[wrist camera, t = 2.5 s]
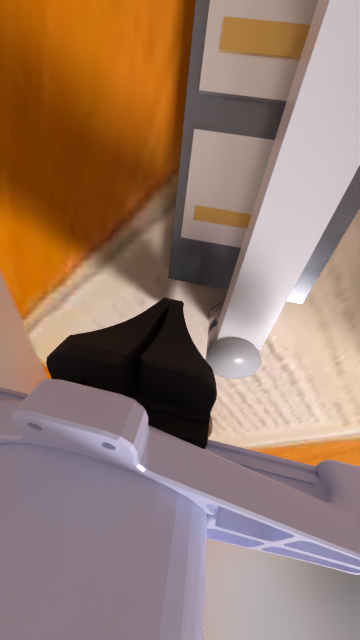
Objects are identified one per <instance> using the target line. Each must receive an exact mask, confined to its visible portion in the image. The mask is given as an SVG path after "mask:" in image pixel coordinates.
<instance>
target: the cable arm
mask: <svg viewBox="0 0 360 640" xmlns="http://www.w3.org/2000/svg"><path fill="white" fill-rule="evenodd" d="M359 165H360V0H318V3H317V6H316V9H315V12H314V16H313V19H312V22H311V25H310V29H309V32H308V35H307V38H306V41H305V45H304V48H303V51H302V54H301V57H300V61H299V64H298V67H297V70H296V74H295V77H294V80H293V83H292V86H291V90H290V93H289V96H288V99H287V102H286V106H285V109H284V112H283V115H282V118H281V122H280V125H279V128H278V131H277V135H276V138H275V141H274V144H273V147H272V151H271V154H270V157H269V160H268V163H267V167H266V170H265V173H264V176H263V180H262V183H261V186H260V189H259V192H258V196H257V199H256V202H255V205H254V208H253V212H252V215H251V218H250V221H249V224H248V228H247V231H246V234H245V237H244V241H243V244H242V247H241V250H240V253H239V257H238V260H237V263H236V266H235V269H234V273H233V276H232V279H231V282H230V286H229V289H228V292H227V295H226V298H225V302H224V305H223V308H222V311H221V314H220V318H219V321H218V324H217V325H216V326H214V327H213V328H212V329H211V331H210V332H209V335H208V343H207V355H206V362H207V363H208V364H209V365H210V366H211V367H212V369H213V373H214V374H216V375H218V376H220V377H223V378H227V379H242V378H246V377H248V376H251V375H252V374H254V373H255V372H256V371H257V370H258V369H259V367H260V365H261V357H260V353H259V350H261V348H262V346H263V344H264V342H265V340H266V339H267V337H268V335H269V333H270V331H271V329H272V327H273V325H274V324H275V322H276V320H277V318H278V316H279V314H280V312H281V311H282V309H283V307H284V305H285V303H286V301H287V299H288V298H289V296H290V294H291V292H292V290H293V288H294V286H295V285H296V283H297V281H298V279H299V277H300V275H301V273H302V272H303V270H304V268H305V266H306V264H307V262H308V260H309V258H310V257H311V255H312V253H313V251H314V249H315V247H316V245H317V244H318V242H319V240H320V238H321V236H322V234H323V232H324V231H325V229H326V227H327V225H328V223H329V221H330V219H331V218H332V216H333V214H334V212H335V210H336V208H337V206H338V205H339V203H340V201H341V199H342V197H343V195H344V193H345V191H346V190H347V188H348V186H349V184H350V182H351V180H352V178H353V177H354V175H355V173H356V171H357V169H358V167H359Z"/></svg>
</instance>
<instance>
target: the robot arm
mask: <svg viewBox="0 0 360 640" xmlns="http://www.w3.org/2000/svg"><path fill="white" fill-rule="evenodd" d="M183 305H184V303H183V302H182V301H177V300H172V299H168V298H163V299H162V300H160V301H159V302H158V303H156V304H155V305H153V306H152V307H150V308H149V309H147V310H146V311H144V312H143V313H141V314H139V315H138V316H136V317H134V318H132V319H129V320H127V321H125V322H122V323H120V324H117V325H114V326H111V327H108V328H104V329H101V330H96V331H92V332H87V333H81V334H75V335H70V336H69V337H67V338H66V339H65V340H64V341H63V342H62V343H61V344H60V345H59V346H58V347H57V348H56V349H55V350H54V351H53V352H52V353H51V354H50V355H49V356H48V357H47V361H46V363H47V367H48V370H49V373H50V375H51V377H52V379H46V380H44V381H43V382H41V383H39V384H38V386H37V387H36V388H35V389H34V390H33V391H32V392H31V393H30V394H25V393H21V392H17V391H14V390H9V389H6V388H1V387H0V640H203V618H204V594H205V568H206V567H205V566H206V541H207V539H210V540H214V541H219V542H224V543H227V544H232V545H236V546H241V547H245V548H249V549H254V550H258V551H263V552H267V553H272V554H276V555H280V556H285V557H289V558H293V559H298V560H302V561H306V562H310V563H313V564H317V565H321V566H325V567H329V568H333V569H336V570H340V571H343V572H347V573H351V574H354V575H360V467H359V466H355V465H351V464H347V463H343V462H339V461H335V460H324V461H321V462H320V463H319V464H318V465H317V466H312V465H308V464H304V463H300V462H296V461H292V460H288V459H284V458H280V457H276V456H272V455H268V454H264V453H260V452H256V451H252V450H248V449H244V448H240V447H236V446H232V445H228V444H224V443H220V442H216V441H212V440H208V424H209V423H210V412H211V410H212V407H213V405H214V403H215V401H216V396H217V390H216V382H215V377H214V373H213V369H212V367H211V366H210V365H209V364H208V363H207V362H206V360H205V359H204V358H203V357H202V355H201V354H200V353H199V351H198V349H197V348H196V346H195V345H194V343H193V341H192V339H191V337H190V335H189V332H188V329H187V326H186V323H185V319H184V314H183Z"/></svg>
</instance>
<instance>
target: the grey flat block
mask: <svg viewBox="0 0 360 640" xmlns="http://www.w3.org/2000/svg"><path fill="white" fill-rule="evenodd" d="M317 3H318V0H196V1H195V11H194V22H193V32H192V42H191V52H190V63H189V73H188V83H187V93H186V103H185V114H184V124H183V134H182V144H181V154H180V165H179V175H178V185H177V195H176V206H175V216H174V226H173V236H172V246H171V257H170V267H169V277H168V278H170V279H175V280H181V281H186V282H191V283H196V284H201V285H206V286H211V287H216V288H222V289H227V290H228V289H229V286H230V282H231V279H232V276H233V273H234V269H235V266H236V263H237V260H238V257H239V253H240V250H241V247H242V244H243V241H244V237H245V234H246V231H247V228H248V224H249V221H250V218H251V215H252V212H253V208H254V205H255V202H256V199H257V196H258V192H259V189H260V186H261V183H262V180H263V176H264V173H265V170H266V167H267V163H268V160H269V157H270V154H271V151H272V147H273V144H274V141H275V138H276V135H277V131H278V128H279V125H280V122H281V118H282V115H283V112H284V109H285V106H286V102H287V99H288V96H289V93H290V90H291V86H292V83H293V80H294V77H295V74H296V70H297V67H298V64H299V61H300V57H301V54H302V51H303V48H304V45H305V41H306V38H307V35H308V32H309V29H310V25H311V22H312V19H313V16H314V12H315V9H316V6H317ZM359 208H360V165H359V167H358V169H357V171H356V173H355V175H354V177H353V178H352V180H351V182H350V184H349V186H348V188H347V190H346V191H345V193H344V195H343V197H342V199H341V201H340V203H339V205H338V206H337V208H336V210H335V212H334V214H333V216H332V218H331V219H330V221H329V223H328V225H327V227H326V229H325V231H324V232H323V234H322V236H321V238H320V240H319V242H318V244H317V245H316V247H315V249H314V251H313V253H312V255H311V257H310V258H309V260H308V262H307V264H306V266H305V268H304V270H303V272H302V273H301V275H300V277H299V279H298V281H297V283H296V285H295V286H294V288H293V290H292V292H291V294H290V296H289V298H288V299H287V301H288V302H294V303H299V304H302V303H303V302H304V300H305V298H306V297H307V295H308V293H309V292H310V290H311V288H312V287H313V285H314V283H315V282H316V280H317V278H318V277H319V275H320V273H321V272H322V270H323V268H324V267H325V265H326V263H327V262H328V260H329V258H330V257H331V255H332V253H333V252H334V250H335V248H336V247H337V245H338V243H339V242H340V240H341V238H342V237H343V235H344V233H345V232H346V230H347V228H348V227H349V225H350V223H351V222H352V220H353V218H354V217H355V215H356V213H357V212H358V210H359ZM223 305H224V302H223V303H221V304H219V305H217V306H216V307H214V308H213V310H212V311H211V313H210V318H209V330H208V335H209V332H210V331H211V329H212V328H213V327H214V326H216V325H217V324H218V321H219V318H220V314H221V311H222V308H223Z"/></svg>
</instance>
